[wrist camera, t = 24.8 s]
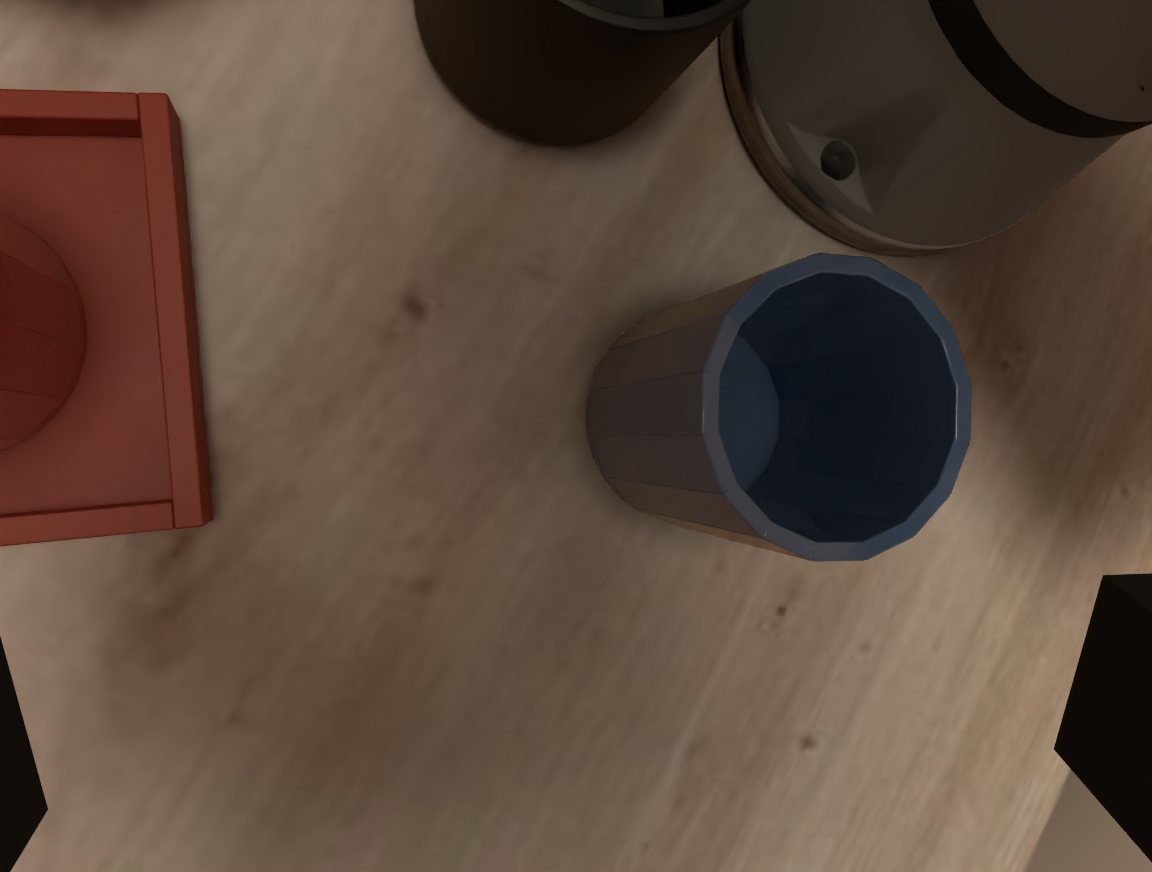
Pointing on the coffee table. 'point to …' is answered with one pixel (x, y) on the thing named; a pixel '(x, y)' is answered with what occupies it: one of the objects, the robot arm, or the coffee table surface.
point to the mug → (567, 58)
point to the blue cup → (788, 411)
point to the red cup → (35, 331)
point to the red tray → (109, 318)
